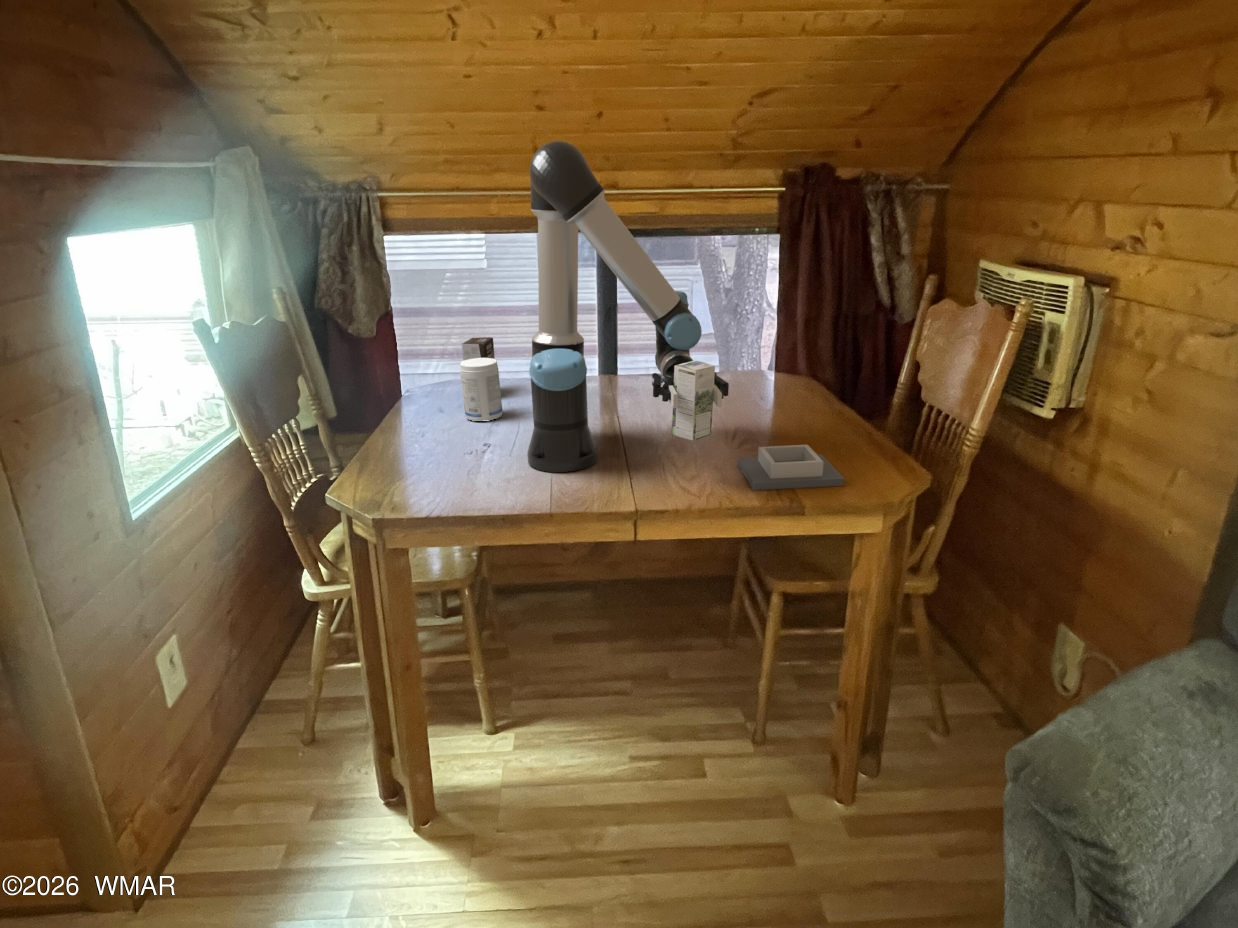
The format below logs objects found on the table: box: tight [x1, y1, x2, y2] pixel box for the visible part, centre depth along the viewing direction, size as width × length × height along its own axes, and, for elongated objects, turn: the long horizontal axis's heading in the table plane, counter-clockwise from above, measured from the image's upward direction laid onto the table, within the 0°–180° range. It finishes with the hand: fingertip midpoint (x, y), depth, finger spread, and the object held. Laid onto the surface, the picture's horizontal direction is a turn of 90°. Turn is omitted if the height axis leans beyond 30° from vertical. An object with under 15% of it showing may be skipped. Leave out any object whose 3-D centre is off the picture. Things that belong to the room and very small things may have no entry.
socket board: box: [737, 444, 845, 491], centre depth 161 cm, size 18×14×4 cm
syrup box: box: [671, 360, 716, 442], centre depth 155 cm, size 6×6×14 cm
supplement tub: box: [459, 358, 503, 422], centre depth 201 cm, size 10×10×15 cm
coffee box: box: [461, 336, 496, 361], centre depth 220 cm, size 9×6×16 cm
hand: (697, 400), depth 151 cm, fingers closed on syrup box, 8 cm apart
